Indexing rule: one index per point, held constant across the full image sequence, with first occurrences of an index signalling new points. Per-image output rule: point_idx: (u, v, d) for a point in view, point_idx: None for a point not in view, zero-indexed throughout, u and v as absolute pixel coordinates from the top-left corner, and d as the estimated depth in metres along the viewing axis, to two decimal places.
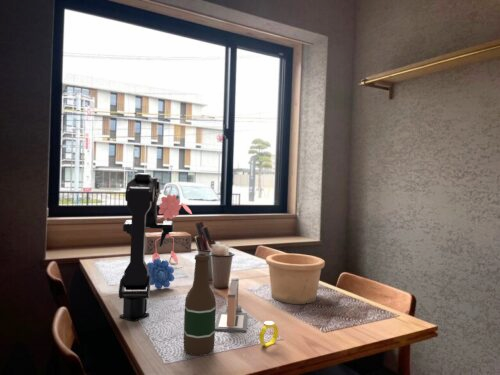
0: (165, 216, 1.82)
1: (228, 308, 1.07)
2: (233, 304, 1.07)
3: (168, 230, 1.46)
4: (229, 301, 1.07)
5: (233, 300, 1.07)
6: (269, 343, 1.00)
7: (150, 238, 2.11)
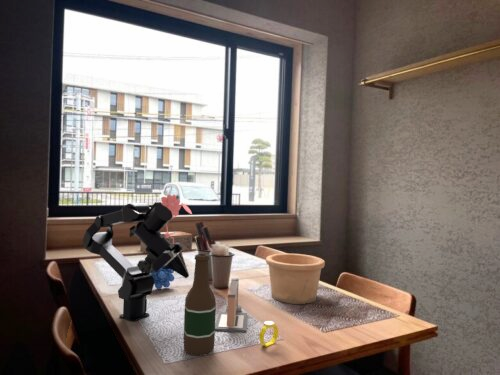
0: None
1: (228, 308, 1.07)
2: (233, 304, 1.07)
3: (181, 245, 1.21)
4: (229, 301, 1.07)
5: (233, 300, 1.07)
6: (269, 343, 1.00)
7: None
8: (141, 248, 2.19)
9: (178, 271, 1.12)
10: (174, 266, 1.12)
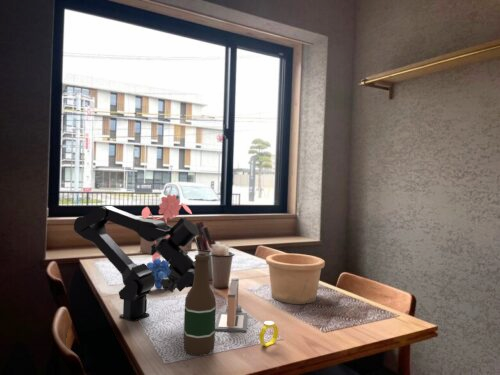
0: (165, 216, 1.82)
1: (228, 308, 1.07)
2: (233, 304, 1.07)
3: None
4: (229, 301, 1.07)
5: (233, 300, 1.07)
6: (269, 343, 1.00)
7: None
8: (141, 249, 2.17)
9: None
10: None
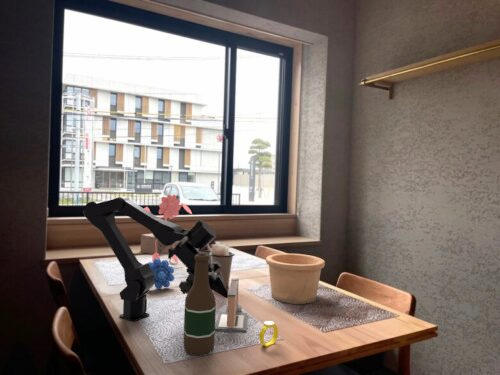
0: (165, 216, 1.82)
1: (228, 308, 1.07)
2: (233, 304, 1.07)
3: (219, 264, 1.20)
4: (229, 301, 1.07)
5: (233, 300, 1.07)
6: (269, 343, 1.00)
7: None
8: (142, 249, 2.16)
9: (219, 292, 1.12)
10: (215, 287, 1.11)
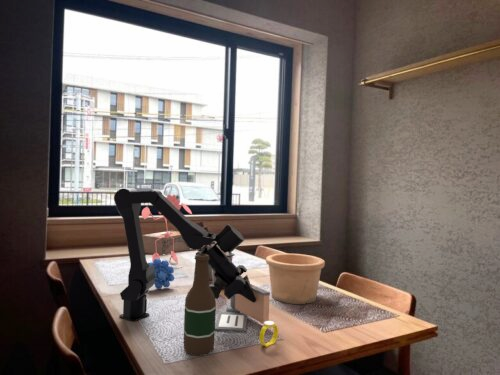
0: None
1: (264, 306, 1.10)
2: (268, 301, 1.11)
3: (245, 268, 1.20)
4: (265, 299, 1.10)
5: (268, 297, 1.11)
6: (269, 343, 1.00)
7: (163, 239, 2.10)
8: None
9: (247, 296, 1.12)
10: (242, 291, 1.11)
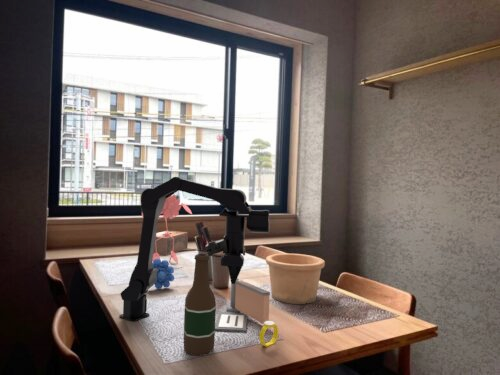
0: (165, 216, 1.82)
1: (264, 306, 1.10)
2: (268, 301, 1.11)
3: None
4: (265, 299, 1.10)
5: (268, 297, 1.11)
6: (269, 343, 1.00)
7: (168, 239, 2.10)
8: None
9: (231, 274, 1.12)
10: (232, 268, 1.12)
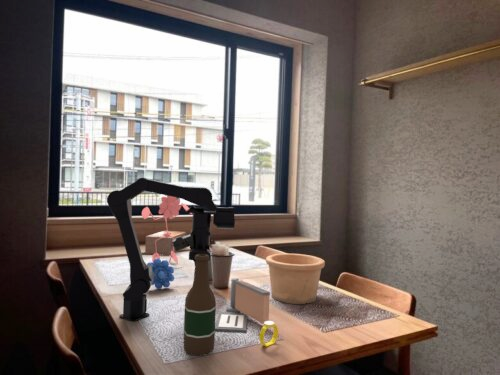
0: (165, 216, 1.82)
1: (264, 306, 1.10)
2: (268, 301, 1.11)
3: None
4: (265, 299, 1.10)
5: (268, 297, 1.11)
6: (269, 343, 1.00)
7: (171, 239, 2.11)
8: (147, 251, 2.11)
9: None
10: None
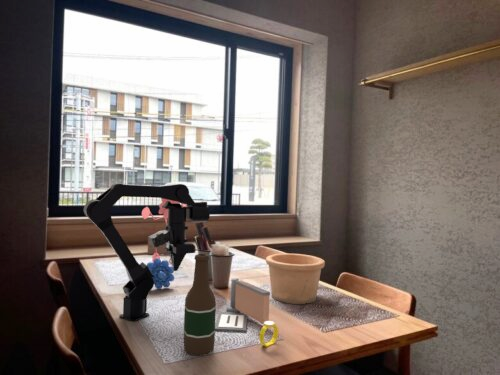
0: (165, 216, 1.82)
1: (264, 306, 1.10)
2: (268, 301, 1.11)
3: None
4: (265, 299, 1.10)
5: (268, 297, 1.11)
6: (269, 343, 1.00)
7: None
8: (150, 251, 2.10)
9: (175, 262, 1.21)
10: (176, 256, 1.21)
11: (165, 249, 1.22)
